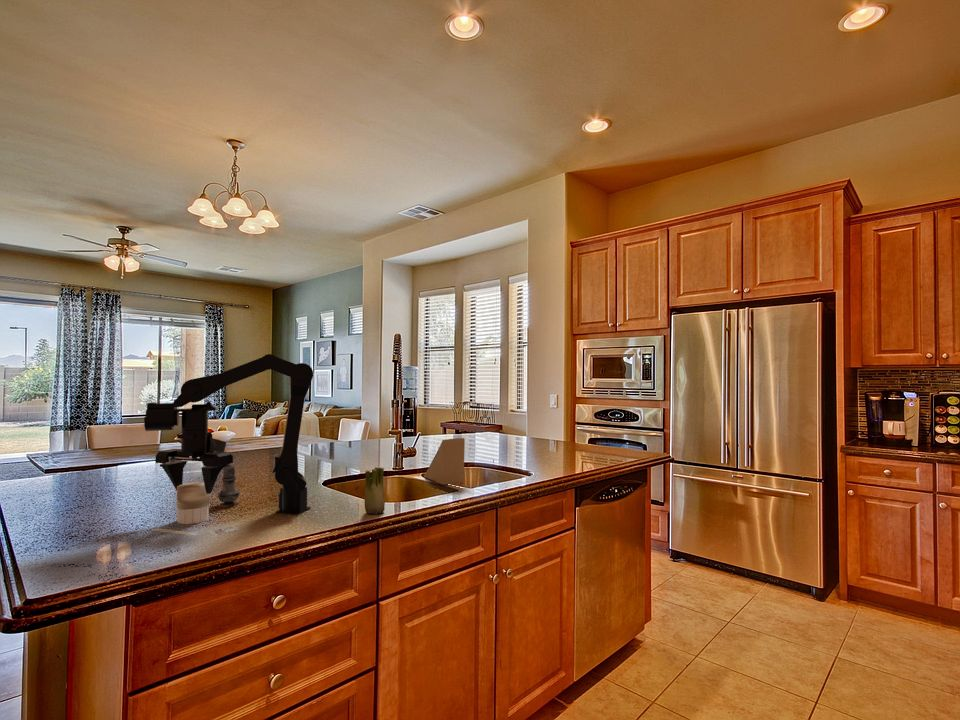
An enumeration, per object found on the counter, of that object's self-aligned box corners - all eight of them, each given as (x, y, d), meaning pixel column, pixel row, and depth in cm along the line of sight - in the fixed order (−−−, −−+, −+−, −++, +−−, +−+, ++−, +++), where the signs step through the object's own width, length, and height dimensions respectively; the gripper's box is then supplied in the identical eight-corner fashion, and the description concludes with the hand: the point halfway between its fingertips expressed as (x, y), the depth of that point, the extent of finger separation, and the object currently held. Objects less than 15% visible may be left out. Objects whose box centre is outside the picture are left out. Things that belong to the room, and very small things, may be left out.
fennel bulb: (365, 517, 129) (365, 470, 130) (361, 512, 134) (362, 466, 134) (387, 514, 132) (387, 468, 132) (383, 509, 136) (383, 465, 136)
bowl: (214, 519, 127) (214, 503, 127) (192, 526, 120) (192, 510, 120) (193, 516, 129) (193, 501, 129) (170, 524, 122) (171, 507, 122)
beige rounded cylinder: (215, 503, 127) (215, 483, 127) (192, 510, 120) (193, 489, 120) (193, 500, 129) (193, 481, 129) (169, 508, 122) (170, 487, 122)
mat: (199, 535, 114) (199, 533, 114) (151, 554, 103) (151, 551, 103) (157, 530, 117) (157, 528, 117) (107, 548, 106) (107, 545, 106)
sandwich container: (444, 473, 184) (444, 432, 185) (464, 482, 171) (465, 437, 171) (423, 476, 180) (423, 434, 180) (442, 484, 167) (442, 439, 167)
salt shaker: (230, 508, 136) (231, 464, 136) (211, 507, 137) (212, 463, 138) (244, 503, 142) (245, 460, 142) (226, 501, 143) (227, 459, 143)
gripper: (249, 426, 130) (248, 487, 130) (191, 424, 135) (190, 482, 135) (215, 432, 119) (214, 498, 119) (154, 429, 125) (153, 492, 124)
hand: (193, 492), depth 125 cm, fingers open, 9 cm apart
